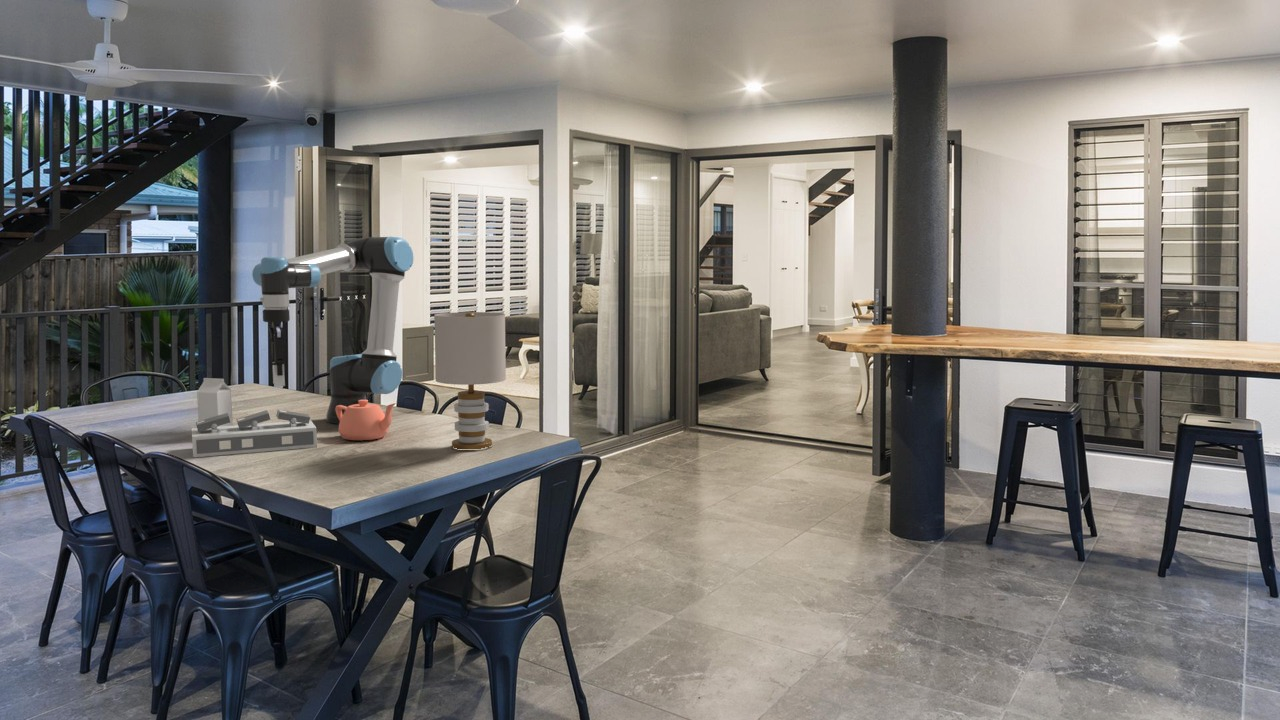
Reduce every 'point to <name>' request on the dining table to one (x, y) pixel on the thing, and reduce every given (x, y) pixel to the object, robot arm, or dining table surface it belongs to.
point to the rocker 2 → (293, 416)
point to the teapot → (363, 421)
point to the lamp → (470, 367)
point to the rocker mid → (253, 419)
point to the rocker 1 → (213, 422)
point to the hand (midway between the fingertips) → (279, 384)
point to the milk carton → (214, 400)
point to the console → (253, 438)
